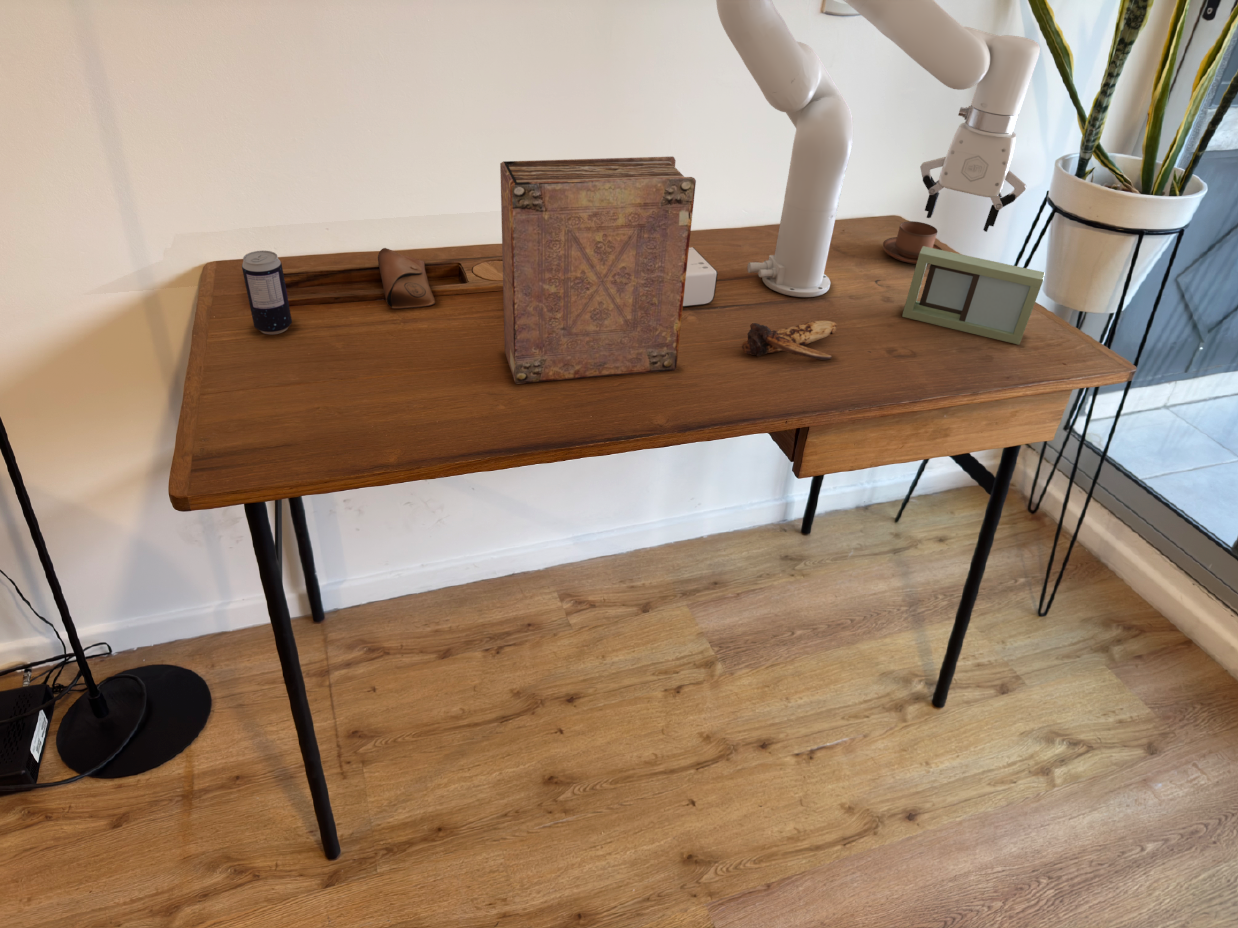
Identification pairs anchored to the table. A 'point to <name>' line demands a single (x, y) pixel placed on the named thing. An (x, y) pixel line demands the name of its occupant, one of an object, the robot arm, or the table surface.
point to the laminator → (699, 280)
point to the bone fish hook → (788, 339)
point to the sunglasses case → (404, 281)
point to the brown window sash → (946, 289)
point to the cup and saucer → (911, 241)
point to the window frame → (980, 296)
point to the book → (593, 265)
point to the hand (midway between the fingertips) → (957, 222)
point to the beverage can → (266, 292)
